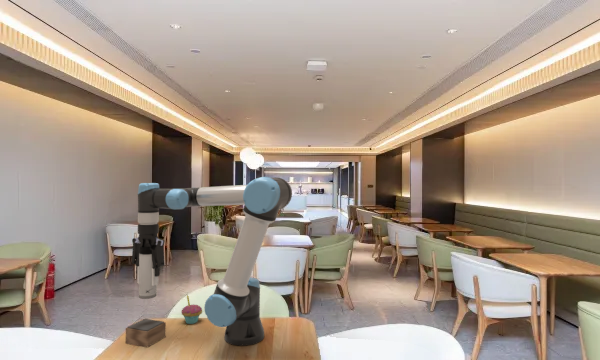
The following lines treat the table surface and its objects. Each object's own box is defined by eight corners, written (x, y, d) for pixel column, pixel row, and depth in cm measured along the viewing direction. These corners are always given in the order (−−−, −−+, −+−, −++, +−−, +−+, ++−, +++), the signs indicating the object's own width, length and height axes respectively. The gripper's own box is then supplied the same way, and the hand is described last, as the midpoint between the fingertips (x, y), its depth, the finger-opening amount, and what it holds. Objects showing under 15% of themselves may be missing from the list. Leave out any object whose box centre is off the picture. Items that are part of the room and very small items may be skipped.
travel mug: (150, 299, 144) (151, 246, 144) (135, 298, 146) (135, 245, 146) (160, 295, 150) (161, 243, 150) (145, 293, 152) (145, 242, 152)
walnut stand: (165, 336, 150) (165, 321, 150) (147, 347, 141) (147, 330, 141) (144, 333, 154) (144, 318, 154) (125, 343, 144) (125, 327, 144)
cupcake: (180, 326, 161) (180, 297, 161) (182, 318, 170) (182, 291, 170) (201, 324, 163) (201, 296, 163) (202, 317, 171) (202, 290, 171)
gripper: (175, 223, 148) (174, 284, 148) (136, 221, 155) (135, 278, 155) (161, 225, 141) (161, 289, 141) (121, 223, 148) (120, 283, 148)
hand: (147, 283), depth 148 cm, fingers closed on travel mug, 6 cm apart
